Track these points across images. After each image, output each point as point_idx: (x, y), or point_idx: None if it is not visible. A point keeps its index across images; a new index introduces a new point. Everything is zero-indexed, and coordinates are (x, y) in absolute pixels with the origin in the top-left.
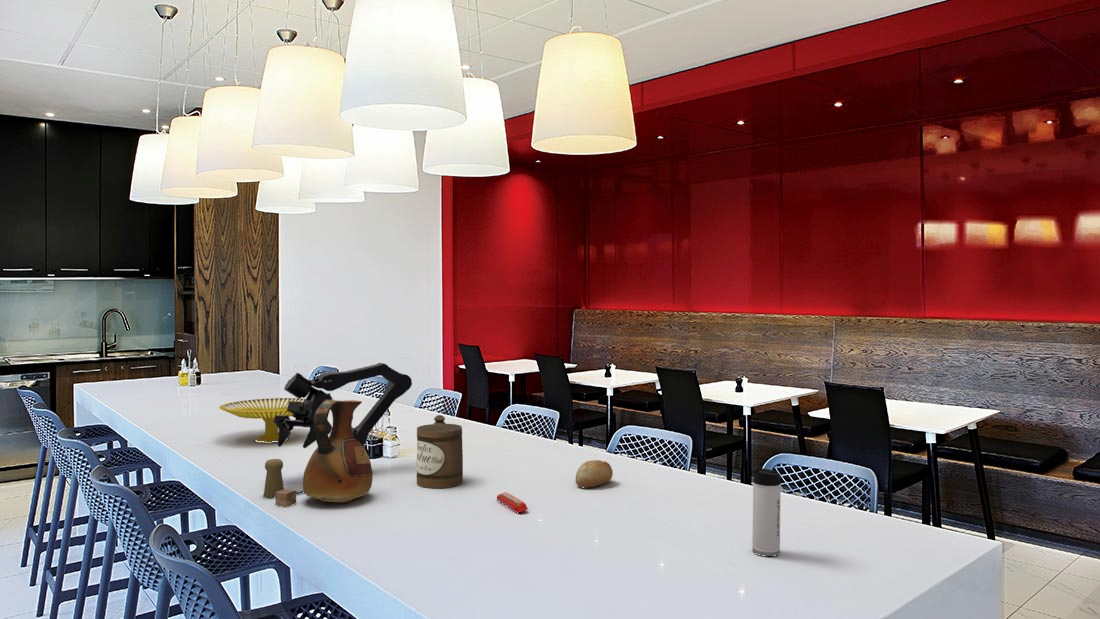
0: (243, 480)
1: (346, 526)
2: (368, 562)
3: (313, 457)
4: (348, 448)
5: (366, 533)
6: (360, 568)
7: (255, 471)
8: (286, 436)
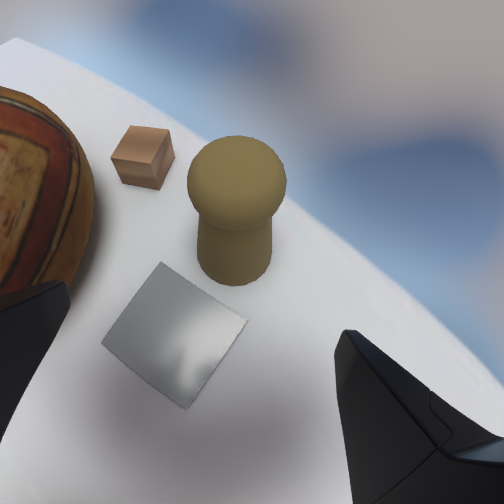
0: None
1: None
2: (23, 55)
3: (14, 92)
4: None
5: None
6: (31, 47)
7: None
8: (363, 487)
